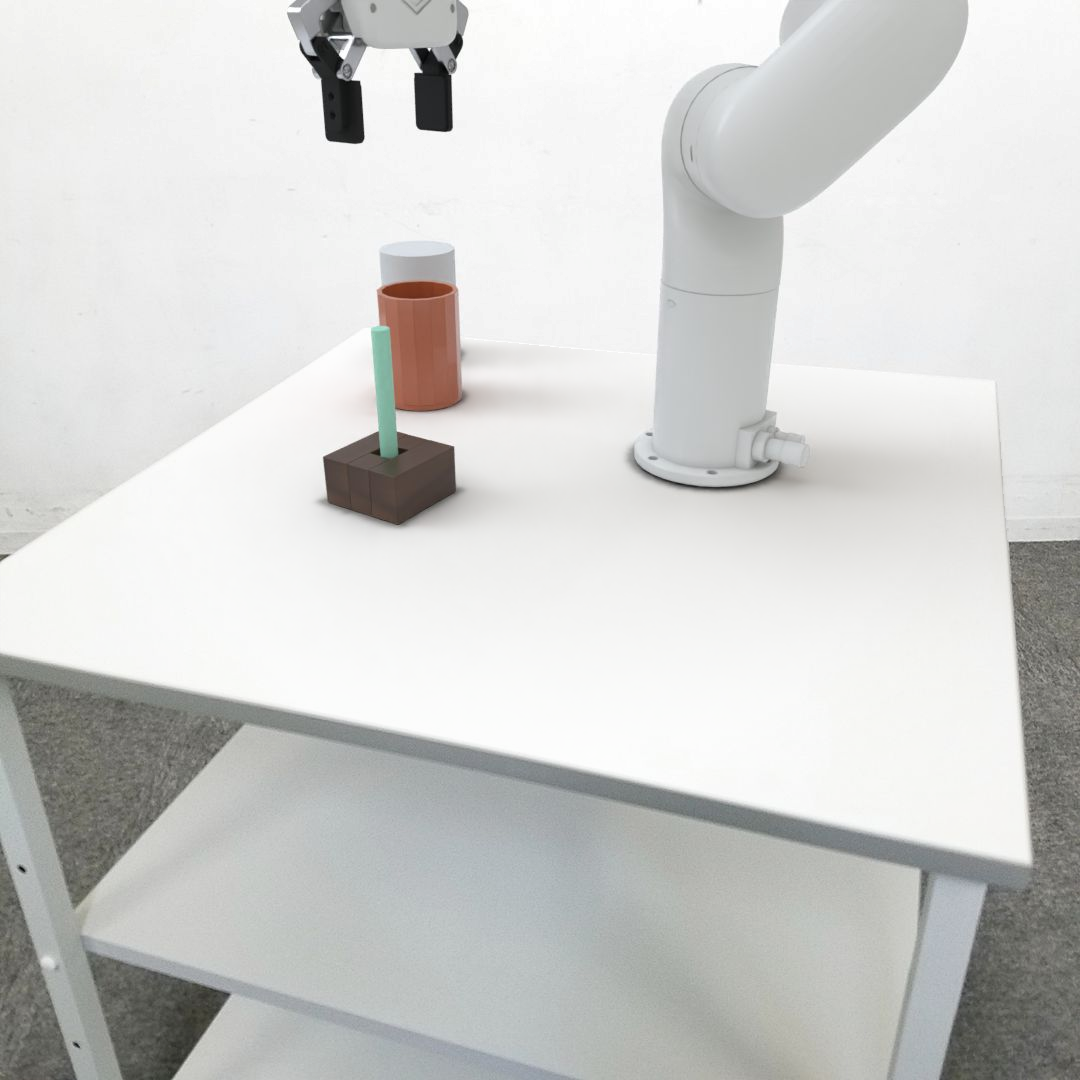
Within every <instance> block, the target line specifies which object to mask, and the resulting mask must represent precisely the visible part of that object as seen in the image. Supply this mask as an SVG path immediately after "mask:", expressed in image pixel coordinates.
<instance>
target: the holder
mask: <svg viewBox="0 0 1080 1080" xmlns="http://www.w3.org/2000/svg"><path fill="white" fill-rule="evenodd" d="M397 442H398V456H396V457H394V458H392V459H389V458H385V457H382V456H381V453H380V440H379V430H378V431H375V432H373V433H371V434H369V435H366V436H364V437H362V438H360V439H357V440H355V441H353V442H352V443H349V444H347V445H345V446H343V447H340V448H339V449H336V450H334V451H332V452H330V453H327V454H326V455H323V456H322V463H323V473H324V480H325V482H324V483H325V490H326V501H327V503H329V504H332V505H335V506H339V507H342V508H345V509H348V510H351V511H354V512H357V513H360V514H363V515H366V516H370V517H373V518H376V519H379V520H381V521H385V522H388V523H391V524H395V525H400V524H402V523H403V522H405V521H407V520H410V518H412V517H414V516H415V515H417V514H419V513H421V512H423V511H424V510H426V509H427V508H429V507H431V506H433V505H435V504H436V503H438V502H440V501H442V500H443V499H445V498H447V497H448V496H450V495H452V494H454V493H456V492H457V479H456V477H457V476H456V458H455V456H456V455H455V454H456V453H455V446H454V445H452V444H451V445H450V444H447V443H443V442H439V441H435V440H431V439H426V438H423V437H419V436H417V435H416V436H415V435H412V434H408V433H405V432H402V431H401V432H400V431H397Z"/></svg>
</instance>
